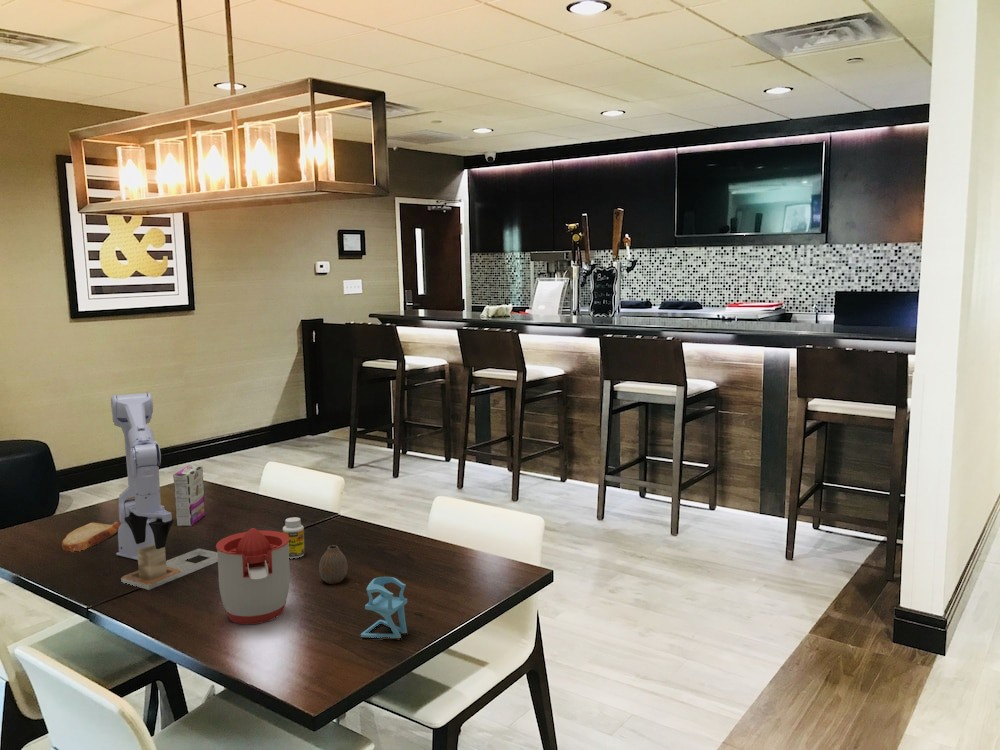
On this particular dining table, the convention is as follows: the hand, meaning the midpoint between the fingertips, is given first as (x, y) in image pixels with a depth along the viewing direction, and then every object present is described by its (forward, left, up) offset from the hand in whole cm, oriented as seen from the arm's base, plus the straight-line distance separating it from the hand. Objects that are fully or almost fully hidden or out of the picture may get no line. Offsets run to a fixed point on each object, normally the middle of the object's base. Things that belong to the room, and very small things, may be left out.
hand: (150, 545), depth 193 cm
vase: (+41, +20, -9) cm, 47 cm away
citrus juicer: (+39, -4, -9) cm, 40 cm away
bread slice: (-42, +13, -9) cm, 45 cm away
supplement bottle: (+20, +29, -9) cm, 36 cm away
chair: (+70, +2, -9) cm, 71 cm away
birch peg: (0, 0, -9) cm, 9 cm away
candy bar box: (-30, +38, -9) cm, 49 cm away
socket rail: (0, +7, -9) cm, 11 cm away
